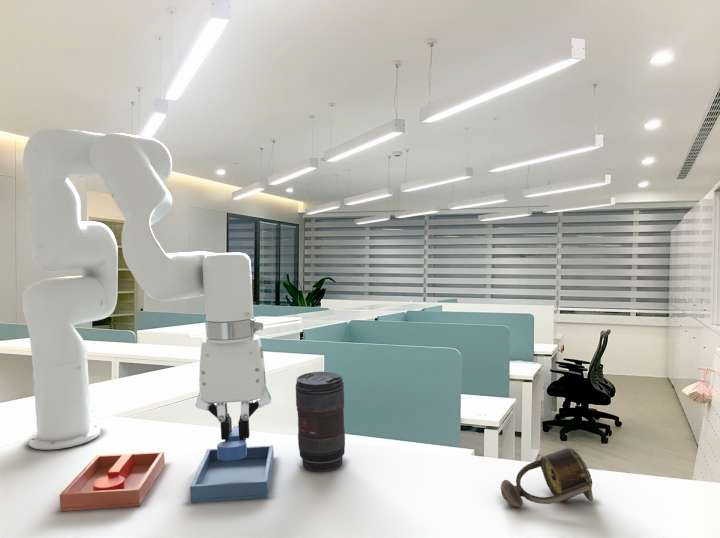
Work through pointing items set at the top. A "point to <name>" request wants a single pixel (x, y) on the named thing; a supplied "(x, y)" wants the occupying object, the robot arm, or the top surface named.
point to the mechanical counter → (553, 479)
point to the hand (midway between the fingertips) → (235, 442)
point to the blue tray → (233, 476)
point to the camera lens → (320, 420)
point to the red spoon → (115, 475)
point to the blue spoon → (232, 447)
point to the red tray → (134, 493)
